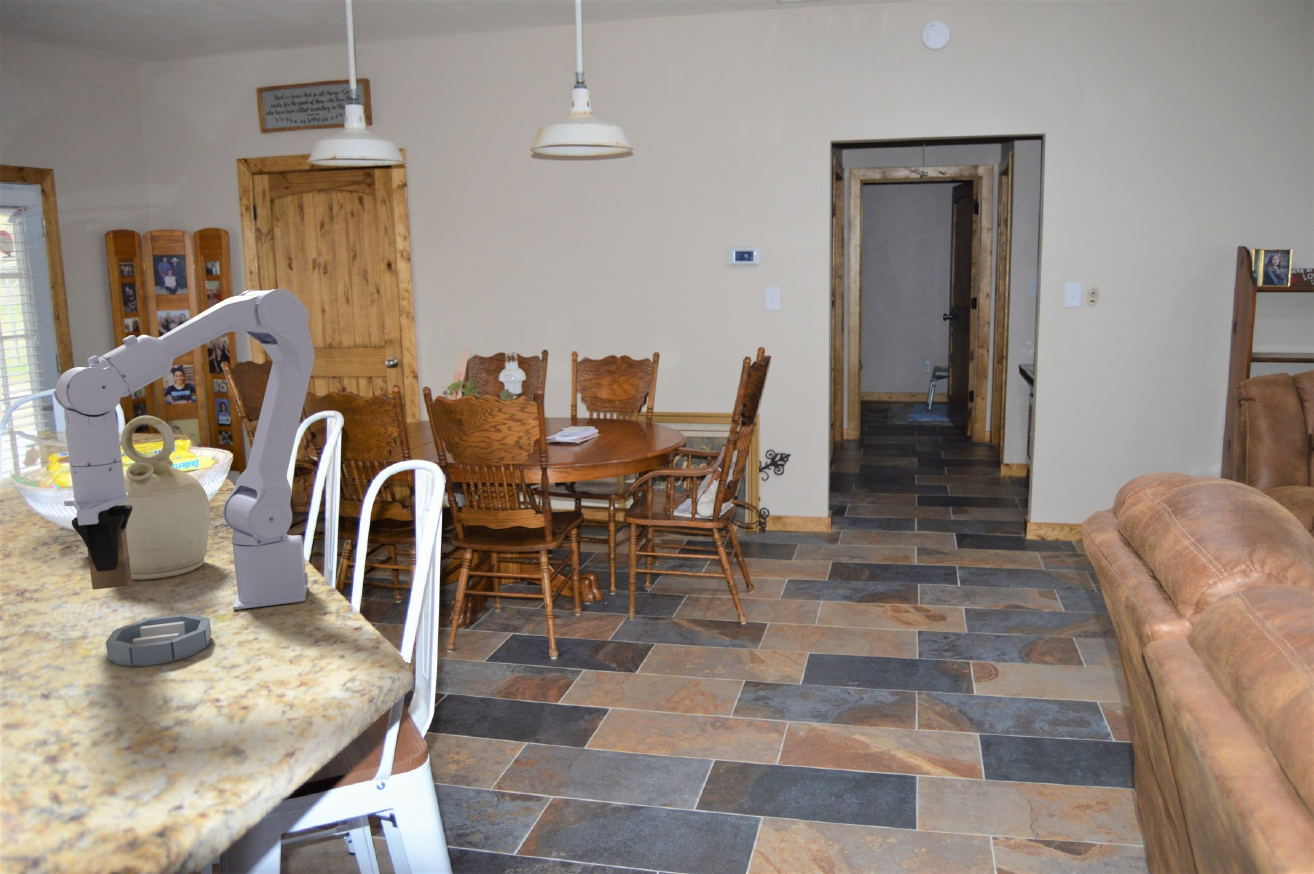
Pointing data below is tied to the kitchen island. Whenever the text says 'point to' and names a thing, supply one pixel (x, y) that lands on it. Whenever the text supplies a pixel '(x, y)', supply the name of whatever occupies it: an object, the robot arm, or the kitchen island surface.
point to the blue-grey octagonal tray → (158, 640)
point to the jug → (162, 510)
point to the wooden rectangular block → (120, 574)
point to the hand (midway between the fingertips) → (109, 566)
